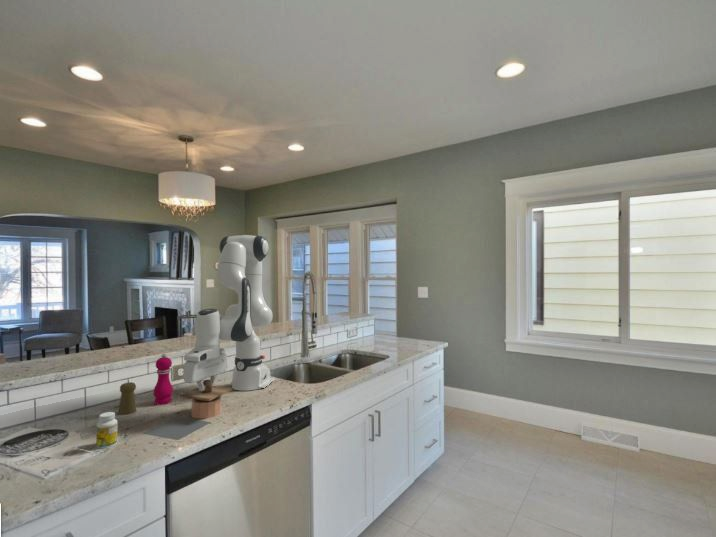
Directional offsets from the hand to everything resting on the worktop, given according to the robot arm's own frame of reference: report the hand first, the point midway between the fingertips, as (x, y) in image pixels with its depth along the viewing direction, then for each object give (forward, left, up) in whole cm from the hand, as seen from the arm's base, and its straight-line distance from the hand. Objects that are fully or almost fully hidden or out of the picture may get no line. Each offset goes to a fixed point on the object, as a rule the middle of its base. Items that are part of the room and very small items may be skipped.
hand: (206, 388), depth 141 cm
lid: (0, 0, -2) cm, 2 cm away
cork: (+8, -30, -10) cm, 33 cm away
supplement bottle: (+31, -11, -10) cm, 34 cm away
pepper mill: (-5, -26, -10) cm, 28 cm away
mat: (+14, 0, -10) cm, 17 cm away
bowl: (0, 0, -10) cm, 10 cm away
